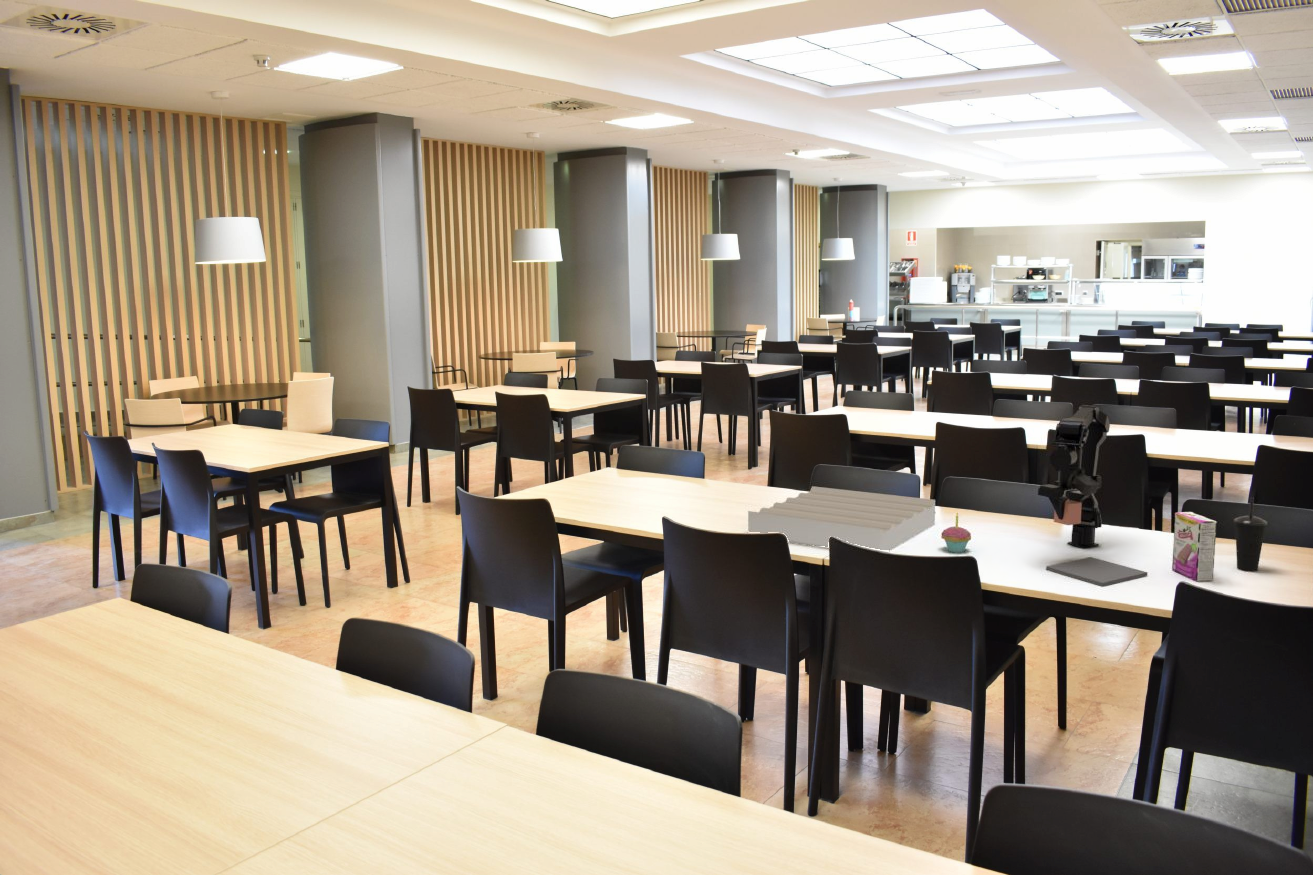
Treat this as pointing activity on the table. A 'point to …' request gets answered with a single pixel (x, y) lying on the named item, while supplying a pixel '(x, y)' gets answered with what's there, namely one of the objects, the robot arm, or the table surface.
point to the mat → (1096, 571)
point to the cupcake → (956, 537)
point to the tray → (846, 518)
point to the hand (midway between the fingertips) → (1067, 518)
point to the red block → (1070, 513)
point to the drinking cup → (1249, 540)
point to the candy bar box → (1194, 546)
